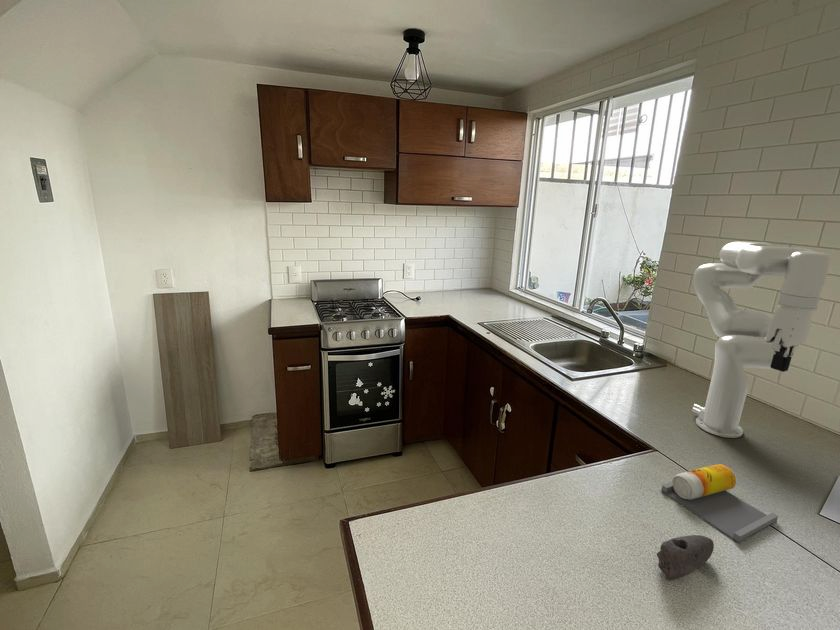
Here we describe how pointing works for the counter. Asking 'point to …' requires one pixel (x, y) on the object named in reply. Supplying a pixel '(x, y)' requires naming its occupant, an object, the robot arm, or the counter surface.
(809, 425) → the counter surface
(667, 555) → the perforated stone tool
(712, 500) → the stand
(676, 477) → the beer can
